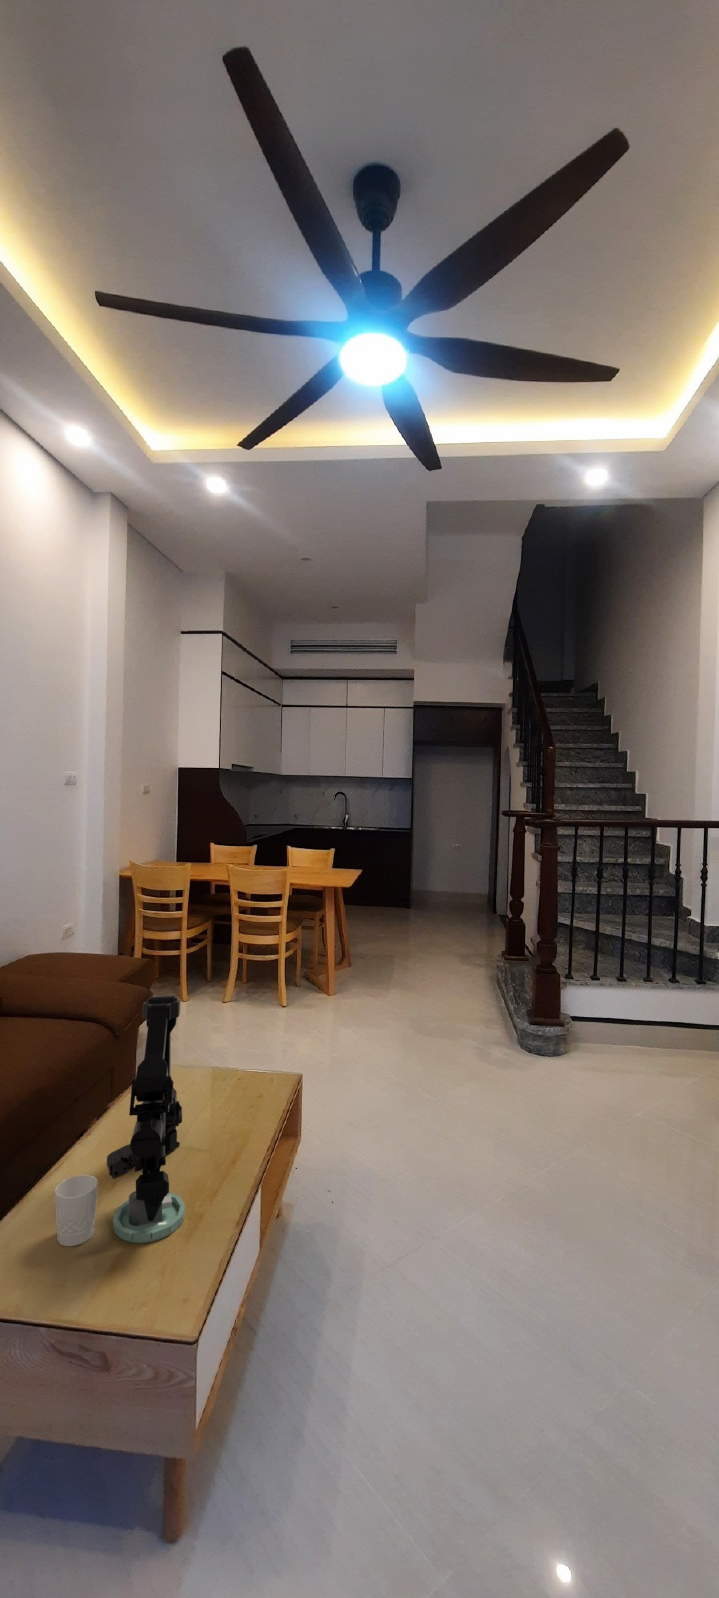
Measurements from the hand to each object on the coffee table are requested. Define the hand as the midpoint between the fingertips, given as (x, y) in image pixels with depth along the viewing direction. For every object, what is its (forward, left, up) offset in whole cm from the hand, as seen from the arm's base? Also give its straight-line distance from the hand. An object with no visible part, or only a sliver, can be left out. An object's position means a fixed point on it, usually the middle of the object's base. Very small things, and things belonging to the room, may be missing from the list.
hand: (149, 1207), depth 136 cm
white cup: (-10, -10, -3) cm, 15 cm away
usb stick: (0, 0, -2) cm, 2 cm away
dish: (0, 0, -3) cm, 3 cm away
